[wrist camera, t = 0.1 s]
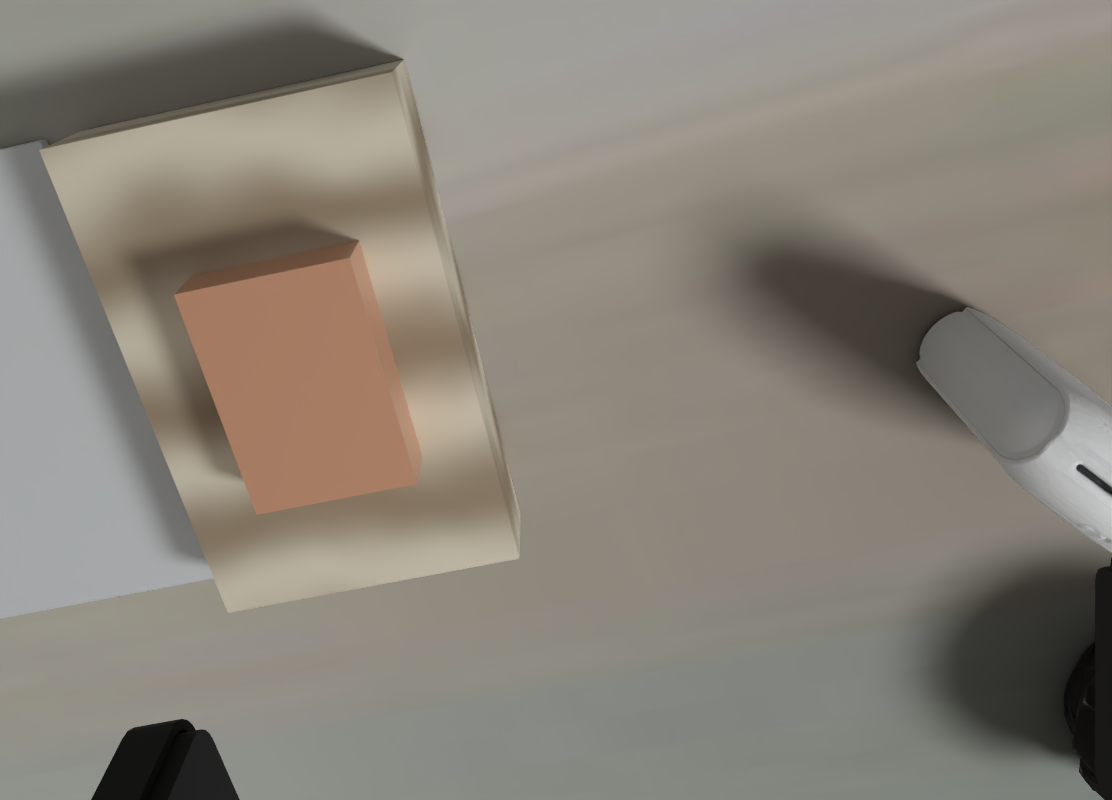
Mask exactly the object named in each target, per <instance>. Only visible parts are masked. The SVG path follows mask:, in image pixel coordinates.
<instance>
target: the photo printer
mask: <svg viewBox="0 0 1112 800" xmlns="http://www.w3.org/2000/svg"><path fill="white" fill-rule="evenodd" d="M919 355H920V359H919V360H918V361H917V362H916V365H917V367H918V369H919V370H920V372H921V373H922V375H923V376H924V377H925V379H926V380H927V381H928V382H929V383H930V384H931V386H932V387H933V388H934V389H935V390H936V391H937V392H938V394H939V395H940V396H941V397H942V398H943V399H944V400H945V402H946V403H947V404H948V405H949V406H950V407H951V408H952V410H953V411H954V412H955V413H956V414H957V415H958V416H959V418H960V419H961V420H962V421H963V422H964V423H965V424H966V426H967V427H968V428H969V429H970V430H971V431H972V432H973V434H974V435H975V436H976V437H977V438H978V439H979V440H980V442H981V443H982V444H983V445H984V446H985V447H986V449H987V450H988V451H989V452H990V453H991V454H992V456H993V457H994V458H995V459H996V460H997V461H998V462H999V464H1000V465H1001V466H1002V467H1003V468H1004V470H1005V471H1006V472H1007V473H1008V474H1009V475H1010V476H1011V477H1012V478H1013V479H1014V480H1015V481H1016V482H1017V483H1018V484H1019V485H1020V486H1022V487H1023V488H1024V489H1025V490H1026V491H1028V492H1029V493H1030V494H1031V495H1032V496H1033V497H1034V498H1036V499H1037V500H1038V501H1039V502H1041V503H1042V504H1043V505H1044V506H1046V507H1047V508H1048V509H1050V510H1051V511H1052V512H1053V513H1055V514H1056V515H1057V516H1059V517H1060V518H1061V519H1063V520H1064V521H1065V522H1067V523H1068V524H1070V525H1071V526H1072V527H1074V528H1075V529H1076V530H1078V531H1079V532H1080V533H1082V534H1083V535H1085V536H1086V537H1088V538H1089V539H1091V540H1092V541H1094V542H1095V543H1097V544H1098V545H1100V546H1101V547H1103V548H1104V549H1106V550H1107V551H1109V552H1111V553H1112V406H1110V405H1109V404H1108V403H1107V402H1106V401H1104V400H1103V399H1102V398H1101V397H1099V396H1098V395H1097V394H1096V393H1094V392H1093V391H1092V390H1091V389H1089V388H1088V387H1087V386H1086V385H1084V384H1083V383H1082V382H1080V381H1079V380H1078V379H1077V378H1075V377H1074V376H1073V375H1071V374H1070V373H1069V372H1067V371H1066V370H1065V369H1064V368H1062V367H1061V366H1060V365H1058V364H1057V363H1056V362H1054V361H1053V360H1052V359H1050V358H1049V357H1048V356H1046V355H1045V354H1044V353H1042V352H1041V351H1040V350H1038V349H1037V348H1036V347H1034V346H1033V345H1031V344H1030V343H1029V342H1027V341H1026V340H1024V339H1023V338H1021V337H1020V336H1019V335H1017V334H1016V333H1014V332H1013V331H1011V330H1010V329H1008V328H1007V327H1005V326H1004V325H1002V324H1001V323H1000V322H998V321H996V320H995V319H993V318H991V317H989V316H987V315H985V314H983V313H981V312H979V311H977V310H974V309H972V308H969V307H966V308H965V310H964V311H963V312H954V313H952V314H949V315H947V316H945V317H944V318H942V319H941V320H939V321H938V322H937V323H936V324H935V325H933V326H932V328H931V329H930V330H929V331H928V332H927V334H926V335H925V337H924V339H923V341H922V344H921V347H920V352H919Z"/></svg>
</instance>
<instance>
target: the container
mask: <svg viewBox="0 0 1112 800" xmlns="http://www.w3.org/2000/svg"><path fill="white" fill-rule="evenodd" d="M1064 710H1065V717H1066V720H1067V723H1068V726H1069V728H1070V730H1071V732H1072V734H1073V740H1072V749H1073V750H1074V751H1075V752H1076V753H1077V754H1078V755H1079V757H1080V768H1079V773H1080V774H1081V775H1082V777H1083V778H1084V780H1085V781H1086V782H1087V783H1088V784H1089V786H1090V787H1091V788H1092V790H1094V791H1096V792H1097V793H1098V794H1099V795H1100V796H1101V797H1102V798H1103V799H1104V797H1103V795H1102V793H1101V790H1100V787H1099V784H1098V781H1097V776H1096V770H1095V643H1094V644H1093V645H1092V646H1091V647H1090V648H1089V649H1088V650H1087V651H1086V652H1085V653H1084V655H1083V656H1082V658H1081V660H1080V661H1079V663H1078V665H1077V666H1076V668H1075V670H1074V672H1073V674H1072V675H1071V677H1070V679H1069V682H1068V685H1067V687H1066V690H1065V696H1064Z"/></svg>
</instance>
